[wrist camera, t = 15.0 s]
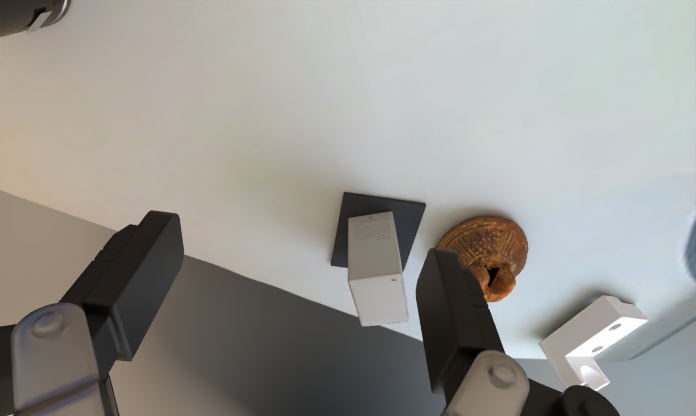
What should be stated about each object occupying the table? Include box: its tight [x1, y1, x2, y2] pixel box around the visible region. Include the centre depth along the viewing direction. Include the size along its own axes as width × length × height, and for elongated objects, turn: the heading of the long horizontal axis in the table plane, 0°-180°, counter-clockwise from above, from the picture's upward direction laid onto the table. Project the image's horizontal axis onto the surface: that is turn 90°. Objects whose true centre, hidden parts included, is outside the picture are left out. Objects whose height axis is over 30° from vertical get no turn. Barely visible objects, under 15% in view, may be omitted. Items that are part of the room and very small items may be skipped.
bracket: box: [539, 295, 648, 391], centre depth 55 cm, size 13×7×8 cm, turn 154°
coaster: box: [331, 192, 426, 272], centre depth 48 cm, size 10×12×1 cm
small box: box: [348, 211, 410, 326], centre depth 44 cm, size 8×6×10 cm
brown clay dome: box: [437, 216, 528, 302], centre depth 46 cm, size 12×12×7 cm
